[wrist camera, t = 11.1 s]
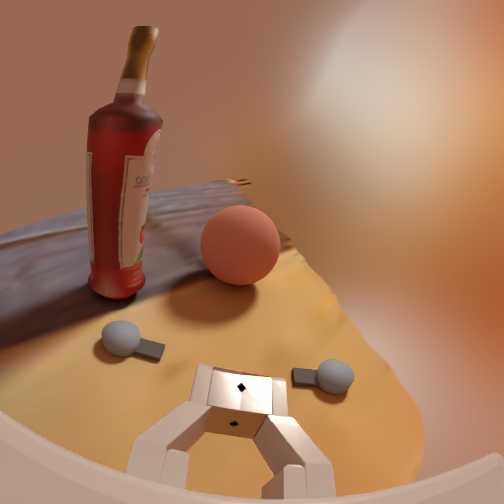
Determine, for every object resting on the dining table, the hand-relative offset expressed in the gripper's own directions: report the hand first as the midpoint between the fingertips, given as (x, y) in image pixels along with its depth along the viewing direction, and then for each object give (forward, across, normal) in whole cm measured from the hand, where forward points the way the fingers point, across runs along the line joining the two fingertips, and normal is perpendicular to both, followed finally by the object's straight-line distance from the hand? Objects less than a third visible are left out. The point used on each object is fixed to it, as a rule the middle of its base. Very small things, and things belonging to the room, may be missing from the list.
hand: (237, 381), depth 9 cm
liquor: (+19, +13, +12) cm, 26 cm away
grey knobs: (+11, -1, +12) cm, 16 cm away
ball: (+26, 0, +7) cm, 27 cm away
